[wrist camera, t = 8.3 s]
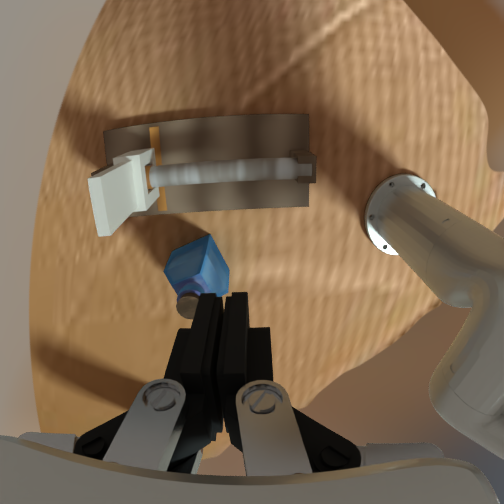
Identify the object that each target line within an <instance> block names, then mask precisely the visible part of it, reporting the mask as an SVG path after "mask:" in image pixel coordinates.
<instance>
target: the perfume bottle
mask: <svg viewBox="0 0 504 504" xmlns="http://www.w3.org/2000/svg"><path fill="white" fill-rule="evenodd" d="M163 272H164V273H165V275H166V277H167V279H168V280H169V282H170V284H171V285H172V287H173V289H174V290H175V292H176V293H177V295H178V297H177V305H176V308H177V311H178V313H179V314H180V315H181V316H182V317H184V318H187V319H194V315H195V311H196V307H197V304H198V300H199V296H200V293H216V294H217V297H221V296H223V295H224V294H226V293H228V287H229V268H228V266H227V264H226V263H225V261H224V259H223V257H222V255H221V253H220V251H219V250H218V248H217V246H216V244H215V242H214V240H213V238H212V236H211V234H209V235H207V236H205V237H202V238H200V239H198V240H196V241H193V242H191V243H189V244H187V245H185V246H182V247H180V248H178V249H176V250H174V251H172V253H171V255H170V257H169V260H168V262H167V264H166V267H165V269H164V271H163Z"/></svg>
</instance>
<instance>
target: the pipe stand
mask: <svg viewBox="0 0 504 504" xmlns="http://www.w3.org/2000/svg"><path fill="white" fill-rule="evenodd" d="M103 133H104V143H105V152H106V160H107V166H105V167H103V168H101V169H99V170H97V171H95V172H93V173H91V175H92V176H94V175H96V174H98V173H100V172H102V171H104V170H106V169H108V168H110V167H112V166H114V164H113V158H115V157H117V156H120V155H122V154H125V153H127V152H129V151H134V150H141V149H149V148H154V149H155V159H156V166H152V165H151V166H145V173H146V181H147V189H153V188H154V187H159V195H160V196H159V197H158V198H157V199H156V201H155V202H154V203H153V204H152V205H151V206H150V207H149V208H148V210H147V211H138V212H132V214H131V215H130V216H129V217H134V216H146V215H159V214H172V213H187V212H202V211H218V210H237V209H257V208H281V207H309V183H316V156H315V155H314V154H312V153H310V152H309V114H257V115H234V116H218V117H205V118H193V119H183V120H174V121H166V122H158V123H150V124H143V125H136V126H130V127H124V128H118V129H112V130H107V131H103Z"/></svg>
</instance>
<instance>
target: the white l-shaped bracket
mask: <svg viewBox="0 0 504 504" xmlns="http://www.w3.org/2000/svg"><path fill="white" fill-rule="evenodd" d="M113 164H114V166H112V167H110V168H108V169H106V170H104V171H102V172H100V173H98V174H96V175H94V176H92V177H90V178H88V184H89V190H90V196H91V202H92V207H93V213H94V218H95V223H96V228H97V232H98V236H111V235H112V234H113V233H114V231H115V230H116V229H117V228H118V227H119V226H120V225H121V224H122V223H123V222H124V221H125V220H126V219H127V218H128V217H129V216H130V215H131V214H132V212H138V211H147V210H148V208H149V207H150V206H151V205H152V204H153V203H154V202H155V201H156V199H157V198H158V197H159V196H160V195H159V187H154V188H153V189H147V181H146V173H145V166H151V165H152V166H156V159H155V149H154V148H149V149H141V150H134V151H129V152H127V153H125V154H122V155H120V156H117V157H115V158H113Z"/></svg>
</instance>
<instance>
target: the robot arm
mask: <svg viewBox="0 0 504 504" xmlns="http://www.w3.org/2000/svg"><path fill="white" fill-rule="evenodd" d="M389 183H390V185H389ZM421 184H422V185H421ZM370 215H371V216H370ZM369 216H370V217H369ZM364 218H365V228H366V232H367V234H368V236H369V239H370V240H371V241H372V243H373V244H374V245H375V246H376V247H377V248H378V249H379V250H381V251H382V252H385V253H387V254H391V255H399V256H400V257H401V258H402V259H403V260H404V261H405V262H406V263H407V264H408V265H409V266H410V268H411V269H412V270H413V271H414V272H415V273H416V274H417V275H418V276H419V277H420V278H421V279H422V280H423V282H424V283H425V284H426V285H427V286H428V287H429V288H430V289H431V290H432V292H433V293H434V294H435V295H436V296H437V297H438V298H439V299H440V300H441V301H443V302H444V303H446V304H449V305H451V306H454V307H461V308H465V307H472V309H471V311H470V313H469V315H468V317H467V319H466V320H465V322H464V325H463V327H462V328H461V330H460V332H459V334H458V335H457V337H456V338H455V340H454V341H453V343H452V345H451V346H450V348H449V349H448V351H447V352H446V354H445V355H444V357H443V358H442V360H441V361H440V363H439V365H438V366H437V368H436V369H435V371H434V373H433V375H432V377H431V380H430V384H429V395H430V399H431V402H432V404H433V406H434V408H435V409H436V411H437V412H438V413H439V414H440V416H441V417H442V418H443V419H444V420H445V421H446V422H447V423H449V424H450V425H451V426H452V427H454V428H455V429H457V430H458V431H460V432H461V433H462V434H464V435H465V436H467V437H468V438H470V439H472V440H473V441H475V442H477V443H478V444H479V445H481V446H483V447H484V448H486V449H487V450H489V451H491V452H492V453H494V454H495V455H497V456H499V457H500V458H502V459H503V460H504V238H503V237H501V236H499V235H498V234H496V233H494V232H493V231H491V230H489V229H488V228H486V227H485V226H483V225H481V224H480V223H478V222H476V221H475V220H473V219H471V218H470V217H468V216H466V215H465V214H463V213H461V212H460V211H458V210H456V209H455V208H453V207H451V206H449V205H448V204H446V203H444V202H442V201H441V200H439V199H437V198H436V196H435V193H434V191H433V189H432V188H431V186H430V185H429V184H428V183H427V182H426V181H424V180H423V179H422V178H420V177H417V176H415V175H412V174H398V175H394V176H392V177H389V178H387V179H386V180H384V181H383V182H382V183H381V184H380V185H378V186H377V187H376V189H375V190H374V191H373V193H372V194H371V196H370V198H369V200H368V203H367V206H366V209H365V217H364ZM223 418H224V422H225V427H226V432H227V433H229V436H230V441H231V444H233V445H234V446H235V447H236V448H237V449H239V450H240V451H241V452H242V453H243V458H244V464H245V471H246V476H213V475H198V474H196V473H197V470H198V467H199V464H200V461H201V458H202V454H203V447H205V446H206V445H208V444H209V443H211V441H216V433H217V432H219V433H222V430H223ZM0 504H500V502H499V500H498V498H497V496H496V494H495V492H494V490H493V488H492V486H491V485H490V483H489V481H488V480H487V478H486V477H485V475H484V474H483V473H482V472H481V470H480V469H478V468H477V467H476V466H475V465H473V464H471V463H468V462H465V461H461V460H456V459H448V458H444V455H443V452H442V451H441V450H440V449H439V448H438V447H437V446H436V445H433V444H431V443H402V444H401V443H399V444H373V443H372V444H371V443H367V444H366V446H356V445H354V444H353V443H352V442H350V441H349V440H347V439H345V438H343V437H342V436H340V435H338V434H336V433H335V432H333V431H331V430H330V429H328V428H326V427H324V426H323V425H321V424H319V423H318V422H316V421H314V420H313V419H311V418H309V417H308V416H306V415H305V414H303V413H301V412H300V411H298V410H297V409H295V408H293V407H292V406H291V402H290V399H289V396H288V393H287V392H286V390H285V389H284V388H283V387H282V386H281V385H280V384H278V383H276V382H273V368H272V352H271V337H270V327H262V328H250V326H249V308H248V293H247V292H232V296H229V297H226V302H225V309H223V300H222V297H217V294H216V293H200V296H199V300H198V304H197V307H196V311H195V315H194V319H193V322H192V326H191V328H180V329H179V330H178V332H177V336H176V339H175V342H174V345H173V349H172V352H171V355H170V359H169V362H168V365H167V369H166V372H165V375H164V379H158V380H154V381H151V382H149V383H147V384H146V385H145V386H143V387H142V389H141V390H140V391H139V393H138V395H137V396H136V398H135V400H134V402H133V404H132V406H131V407H130V409H129V410H128V411H126V412H125V413H123V414H121V415H119V416H117V417H115V418H113V419H111V420H109V421H108V422H106V423H104V424H102V425H100V426H98V427H96V428H94V429H92V430H90V431H88V432H86V433H85V434H83V435H82V436H80V437H77V436H76V435H75V434H54V433H37V432H27V433H24V434H22V435H20V436H19V437H18V438H16V437H11V436H1V435H0Z"/></svg>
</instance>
